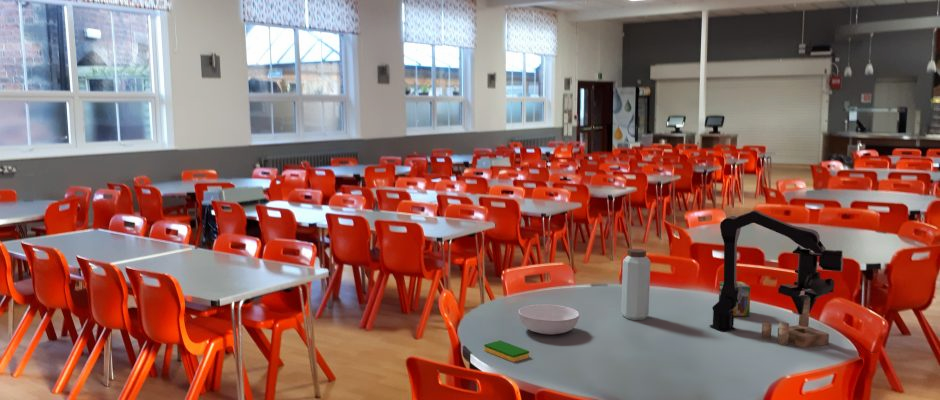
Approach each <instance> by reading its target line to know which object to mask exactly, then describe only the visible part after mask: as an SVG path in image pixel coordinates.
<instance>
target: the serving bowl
mask: <svg viewBox="0 0 940 400" xmlns="http://www.w3.org/2000/svg"><path fill="white" fill-rule="evenodd" d="M518 318H519V320H520V323H521V324H522V325H523V326H524V327H525V329H528V330H529V331H531V332H534V333H538V334H542V335H545V336H546V335H548V336H549V335H558V334H563V333H567V332H569V331H572V330H573V329H574V328H575V327H576V326H577V324H578V322H579V319H580V312H579V311H577V310H576V309H574V308H571V307H568V306H566V305H565V306H563V305H559V304H548V303H545V304H544V303H543V304H542V303H541V304H531V305H526V306H523V307H521V308H519V309H518Z"/></svg>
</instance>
